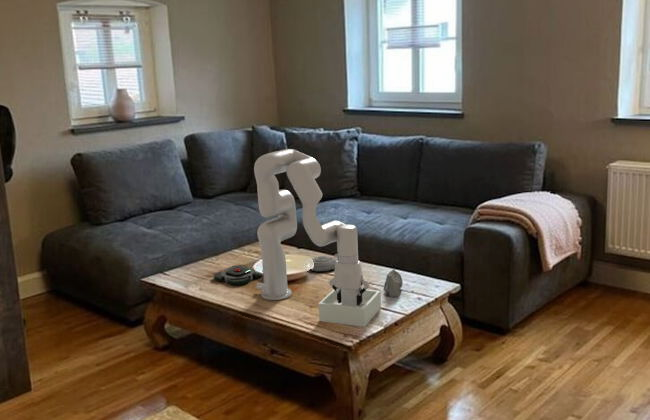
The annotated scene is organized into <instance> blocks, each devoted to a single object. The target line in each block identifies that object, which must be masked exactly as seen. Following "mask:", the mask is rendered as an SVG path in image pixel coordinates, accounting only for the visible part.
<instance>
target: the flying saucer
mask: <svg viewBox="0 0 650 420" xmlns="http://www.w3.org/2000/svg"><path fill="white" fill-rule="evenodd" d="M311 259H312V260H313V262H314V268H313V270H311V271H314V272H326V271H331V270H335V264H336V261H337V260H336V259H335V258H333V257H331V256H325V255H321V256H316V257H313V258H311Z"/></svg>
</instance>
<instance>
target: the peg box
mask: <svg viewBox="0 0 650 420" xmlns="http://www.w3.org/2000/svg"><path fill="white" fill-rule="evenodd" d="M381 295H382V294H381V290H374V289H367V290H366V291H365V292H364V293H363V294H362V303H361V304H360V305H359V306H358V307H354V306H346V305H342V303H338V300H337V293H336V292H335V290H334V289H333V288H332V290H331V291H330V292H329V293H328V294H327V295H325V296H324V297H323V298H322V300H320V301H319V302H318V319H319V320H318V321H319V322H324V323H332V324H340V325H347V326H355V327H364V328H366V326H367V325H368V324H369V323H370V322H371V320H373V318H374V317H375V316H376V315H377V313H379V311H380V310H381V308H382V302H381V301H382V298H381Z"/></svg>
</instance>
